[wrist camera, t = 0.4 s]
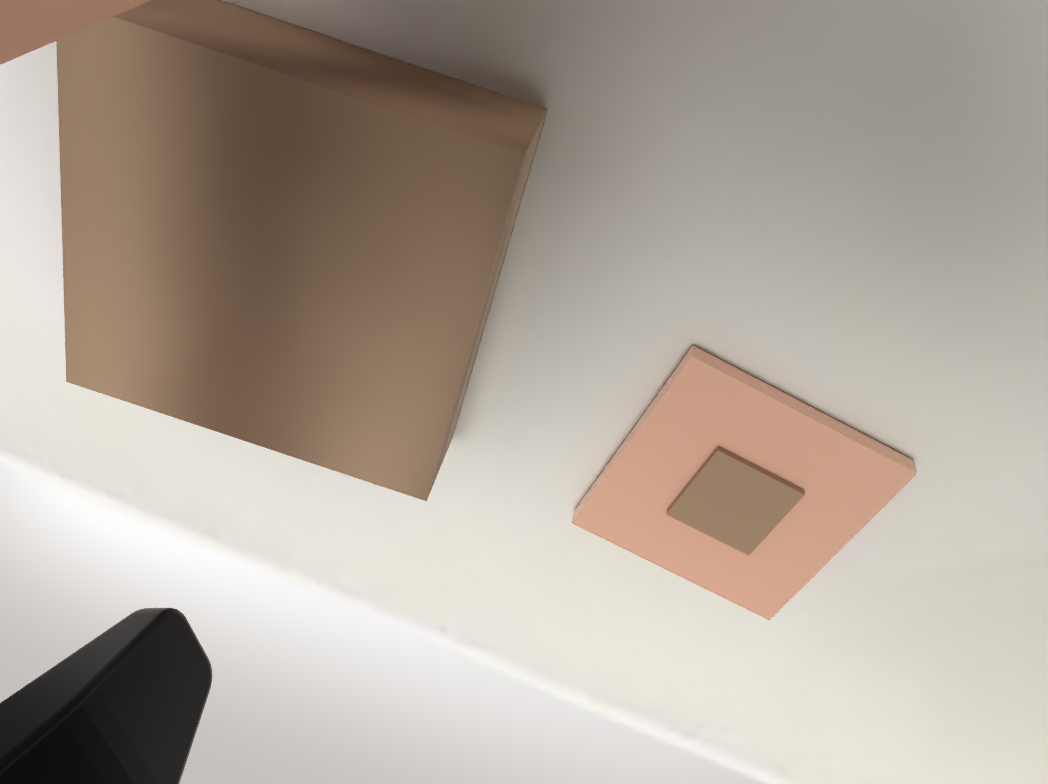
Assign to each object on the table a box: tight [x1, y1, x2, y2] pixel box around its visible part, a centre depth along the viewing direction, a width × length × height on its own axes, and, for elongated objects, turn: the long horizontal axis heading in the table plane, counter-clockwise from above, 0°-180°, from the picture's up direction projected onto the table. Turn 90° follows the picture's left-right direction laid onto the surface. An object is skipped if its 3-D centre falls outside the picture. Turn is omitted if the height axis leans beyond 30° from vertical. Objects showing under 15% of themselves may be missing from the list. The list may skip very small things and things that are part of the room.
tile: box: [572, 345, 917, 620], centre depth 23 cm, size 6×6×1 cm
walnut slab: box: [57, 0, 547, 501], centre depth 21 cm, size 9×9×3 cm
